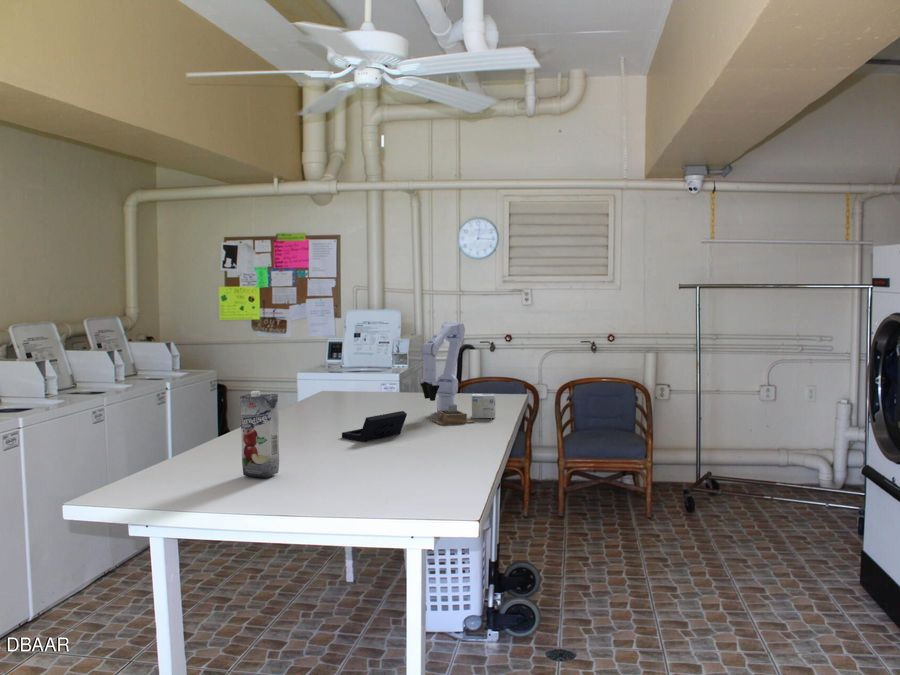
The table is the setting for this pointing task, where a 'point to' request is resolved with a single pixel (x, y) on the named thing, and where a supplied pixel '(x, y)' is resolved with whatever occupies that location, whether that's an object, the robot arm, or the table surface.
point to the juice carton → (260, 434)
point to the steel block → (451, 409)
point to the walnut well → (451, 418)
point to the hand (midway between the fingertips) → (429, 399)
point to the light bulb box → (483, 406)
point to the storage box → (378, 427)
